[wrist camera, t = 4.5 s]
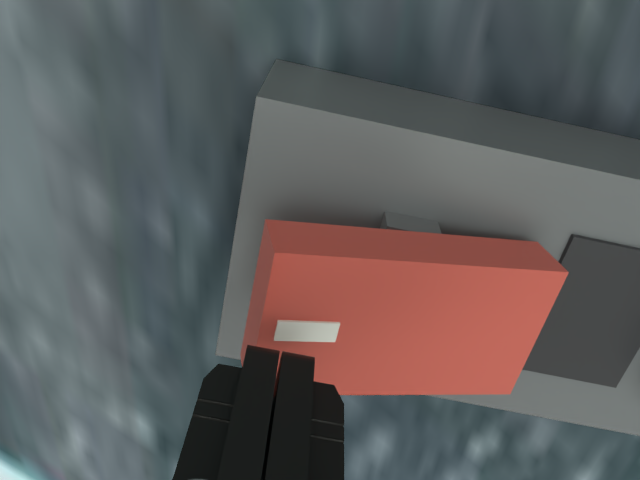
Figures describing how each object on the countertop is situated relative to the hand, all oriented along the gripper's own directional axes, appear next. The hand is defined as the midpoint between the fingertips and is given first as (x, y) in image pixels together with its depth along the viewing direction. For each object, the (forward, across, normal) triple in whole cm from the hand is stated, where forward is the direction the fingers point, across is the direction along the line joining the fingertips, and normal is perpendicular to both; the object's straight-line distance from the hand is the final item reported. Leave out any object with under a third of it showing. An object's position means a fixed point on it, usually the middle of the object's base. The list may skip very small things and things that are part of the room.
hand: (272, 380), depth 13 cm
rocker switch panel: (+11, -10, 0) cm, 14 cm away
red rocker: (+4, -3, 0) cm, 5 cm away
